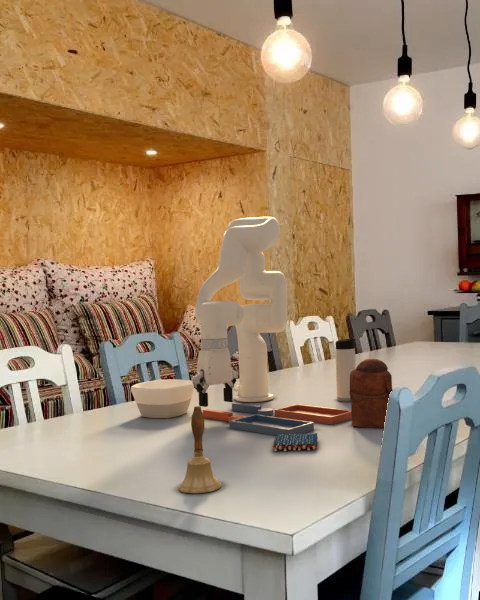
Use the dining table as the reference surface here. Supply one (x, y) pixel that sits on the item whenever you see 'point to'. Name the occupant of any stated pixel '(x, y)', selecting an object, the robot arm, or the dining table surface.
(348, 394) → the travel mug
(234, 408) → the slate spoon
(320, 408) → the terracotta tray
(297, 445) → the woven mat
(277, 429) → the slate tray
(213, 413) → the terracotta spoon
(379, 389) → the wooden figurine
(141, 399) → the bowl
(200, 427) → the hand bell
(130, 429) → the dining table surface
